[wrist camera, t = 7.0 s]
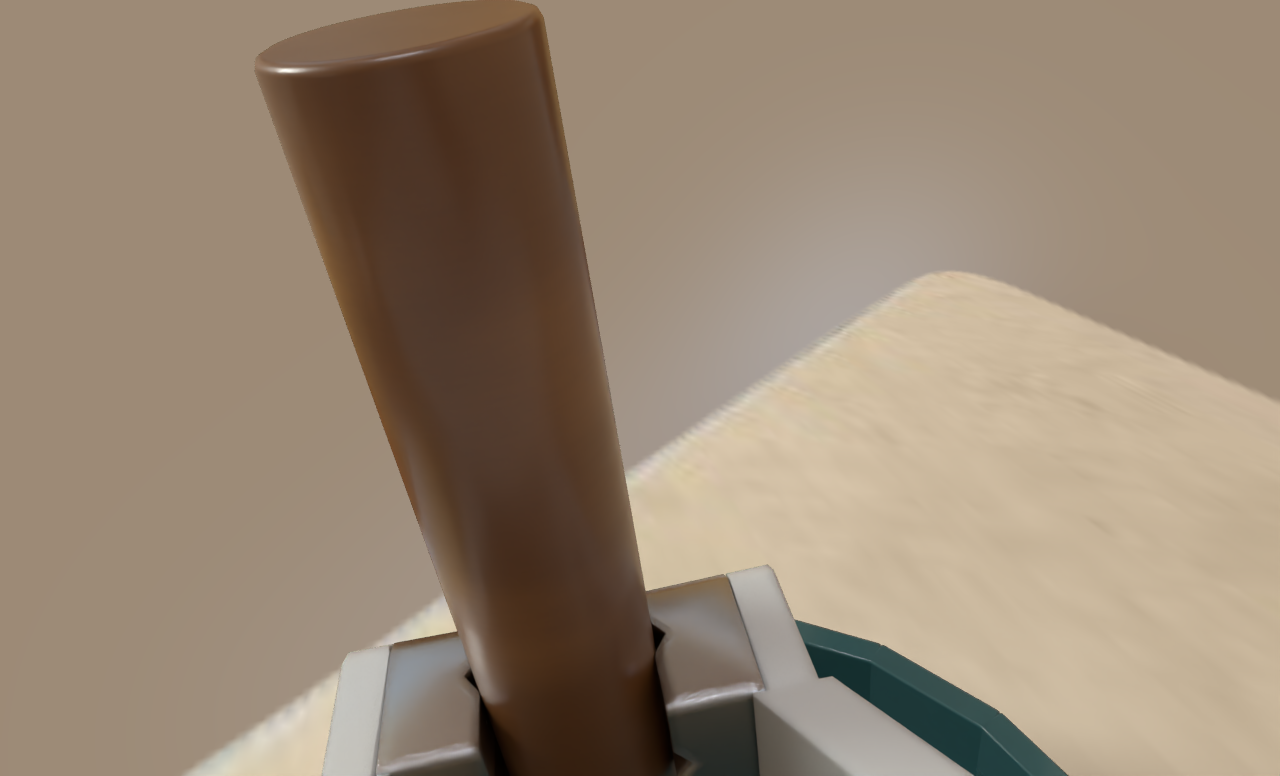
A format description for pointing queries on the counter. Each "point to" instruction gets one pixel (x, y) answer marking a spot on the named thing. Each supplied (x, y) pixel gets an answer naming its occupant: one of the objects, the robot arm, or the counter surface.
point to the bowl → (927, 705)
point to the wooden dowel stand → (483, 358)
